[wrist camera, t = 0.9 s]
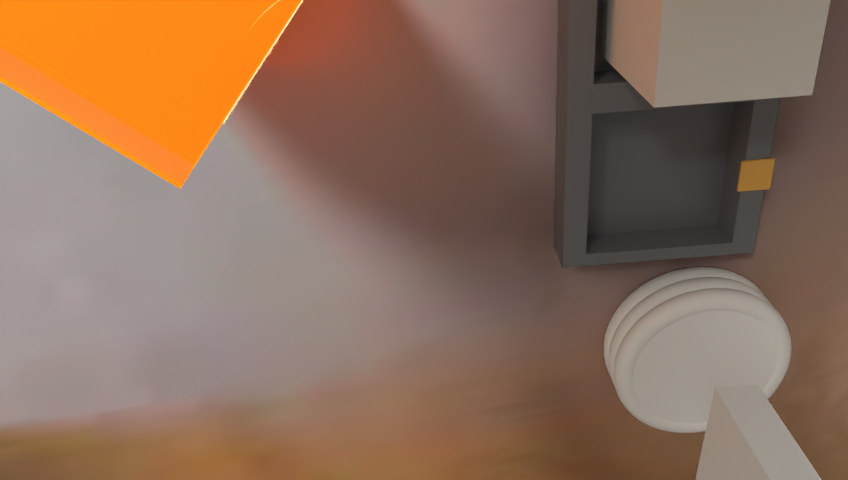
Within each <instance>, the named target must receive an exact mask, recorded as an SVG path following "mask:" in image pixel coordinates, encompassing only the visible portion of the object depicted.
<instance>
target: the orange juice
mask: <svg viewBox="0 0 848 480" xmlns="http://www.w3.org/2000/svg"><path fill="white" fill-rule="evenodd" d="M302 2H303V0H0V82H2V83H4V84H5V85H7V86H9V87H10V88H12V89H14V90H15V91H17V92H19V93H20V94H22V95H24V96H25V97H27V98H29V99H30V100H32V101H34V102H36V103H37V104H39V105H41V106H42V107H44V108H46V109H47V110H49V111H51V112H52V113H54V114H56V115H57V116H59V117H61V118H62V119H64V120H66V121H67V122H69V123H71V124H72V125H74V126H76V127H78V128H79V129H81V130H83V131H84V132H86V133H88V134H89V135H91V136H93V137H94V138H96V139H98V140H99V141H101V142H103V143H104V144H106V145H108V146H109V147H111V148H113V149H114V150H116V151H118V152H120V153H121V154H123V155H125V156H126V157H128V158H130V159H131V160H133V161H135V162H136V163H138V164H140V165H141V166H143V167H145V168H146V169H148V170H150V171H151V172H153V173H155V174H156V175H158V176H160V177H162V178H163V179H165V180H167V181H168V182H170V183H172V184H173V185H175V186H177V187H178V188H181V186H182V185H183V183H184V182H185V180H186V179H187V177H188V176H189V174H190V173H191V171H192V169H193V168H194V166H195V165H196V163H197V162H198V160H199V159H200V157H201V156H202V154H203V152H204V151H205V149H206V148H207V146H208V145H209V143H210V142H211V140H212V138H213V137H214V135H215V134H216V132H217V131H218V129H219V128H220V126H221V125H222V123H224V122H225V121H226V119H227V118H228V116H229V114H230V113H231V111H232V110H233V108H234V107H235V105H236V104H237V102H238V101H239V99H240V97H241V96H242V94H243V93H244V91H245V90H246V88H247V87H248V85H249V84H250V82H251V80H252V79H253V77H254V76H255V74H256V73H257V71H258V70H259V68H260V67H261V65H262V63H263V62H264V60H265V59H266V57H267V56H268V54H269V53H270V51H271V50H272V48H273V46H274V45H275V43H276V42H277V40H278V39H279V37H280V36H281V34H282V33H283V31H284V29H285V28H286V26H287V25H288V23H289V22H290V20H291V19H292V17H293V16H294V14H295V12H296V11H297V9H298V8H299V6H300V5H301V3H302ZM284 32H285V31H284ZM275 46H276V45H275ZM262 66H263V65H262ZM249 86H250V85H249ZM243 95H244V94H243ZM240 100H241V99H240ZM238 103H239V102H238ZM234 109H235V108H234ZM227 120H228V119H227Z"/></svg>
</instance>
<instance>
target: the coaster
mask: <svg viewBox="0 0 848 480" xmlns="http://www.w3.org/2000/svg"><path fill="white" fill-rule="evenodd" d="M791 350H792V347H791V338H790V335H789V331H788V328H787V325H786V323H785V321H784V319H783V318H782V316H781V315H780V314H779V312H778V311H777V310H776V309H775V308H774V307H773V306H772V304H771V303H770V302H769V300H768V299H767V298H766V297H765V296H764V295H763V293H762V292H761V291H760V289H759V288H758V287H757V286H755V285H754V284H753V283H752V282H751V281H749V280H748V279H746V278H744V277H743V276H740V275H738V274H736V273H734V272H731V271H728V270H725V269H720V268H714V267H691V268H684V269H679V270H675V271H671V272H668V273H665V274H663V275H660V276H658V277H656V278H654V279H652V280H650V281H648V282H646V283H645V284H643V285H642V286H640V287H639V288H637V289H636V290H635V291H634V292H632V293H631V294H630V295H629V296H628V297H627V298H626V299H625V300H624V301H623V302H622V303H621V304H620V306H619V307H618V308H617V310H616V311H615V313H614V314H613V316H612V318H611V320H610V322H609V324H608V327H607V330H606V334H605V338H604V360H605V364H606V368H607V370H608V372H609V374H610V376H611V380H612V382H613V384H614V386H615V388H616V392H617V394H618V397H619V399H620V401H621V402H622V403H623V405H624V406H625V408H626V409H627V410H628V411H629V412H630V413H631V414H632V415H633V416H634V417H636V418H637V419H638V420H640V421H641V422H643V423H645V424H647V425H649V426H651V427H654V428H656V429H659V430H664V431H668V432H676V433H693V432H703V431H706V427H707V422H708V418H709V413H710V408H711V403H712V399H713V394H714V389H715V387H718V386H738V385H757V384H758V386H759V387H760V389H761V390H762V392H763V393H764V395H765V396H766V398H767V399H769V398H770V397H771V396H772V394H773V393H774V392H775V391H776V389H777V388H778V387H779V385H780V384H781V382H782V380H783V379H784V377H785V375H786V372H787V370H788V367H789V363H790V359H791Z"/></svg>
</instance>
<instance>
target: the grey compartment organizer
mask: <svg viewBox="0 0 848 480" xmlns="http://www.w3.org/2000/svg"><path fill="white" fill-rule="evenodd" d="M830 1H831V0H558V51H557V105H556V159H555V213H554V247H555V250H556V252H557V255H558V257H559V260H560V262H561V265H562V267H563V268H566V267H579V266H592V265H605V264H617V263H630V262H643V261H655V260H668V259H681V258H694V257H706V256H719V255H732V254H744V253H754V247H755V241H756V236H757V230H758V224H759V218H760V213H761V207H762V201H763V195H764V190H765V189H770V185H771V180H772V174H773V168H774V163H775V159H774V158H771V159H770V155H771V149H772V144H773V138H774V132H775V126H776V121H777V115H778V109H779V103H780V98H781V97H794V96H806V95H812V93H813V88H814V83H815V78H816V73H817V68H818V63H819V58H820V52H821V47H822V42H823V37H824V32H825V27H826V22H827V17H828V12H829V6H830Z"/></svg>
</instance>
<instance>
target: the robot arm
mask: <svg viewBox="0 0 848 480" xmlns="http://www.w3.org/2000/svg"><path fill="white" fill-rule="evenodd" d="M695 480H821V478H820V477H819V475H818V474H817V472H816V471H815V469H814V468H813V466H812V465H811V463H810V462H809V460H808V459H807V457H806V456H805V454H804V453H803V451H802V450H801V448H800V447H799V445H798V444H797V442H796V441H795V439H794V438H793V436H792V435H791V433H790V432H789V430H788V429H787V427H786V426H785V424H784V423H783V422H782V420H781V419H780V417H779V416H778V414H777V413H776V411H775V410H774V408H773V407H772V405H771V404H770V402H769V401H768V399H767V398H766V396H765V395H764V393H763V392H762V390H761V389H760V387H759V386H758V384H757V385H738V386H718V387H715V389H714V394H713V399H712V403H711V408H710V413H709V418H708V422H707V427H706V432H705V437H704V441H703V446H702V451H701V455H700V460H699V465H698V470H697V474H696V479H695Z"/></svg>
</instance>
